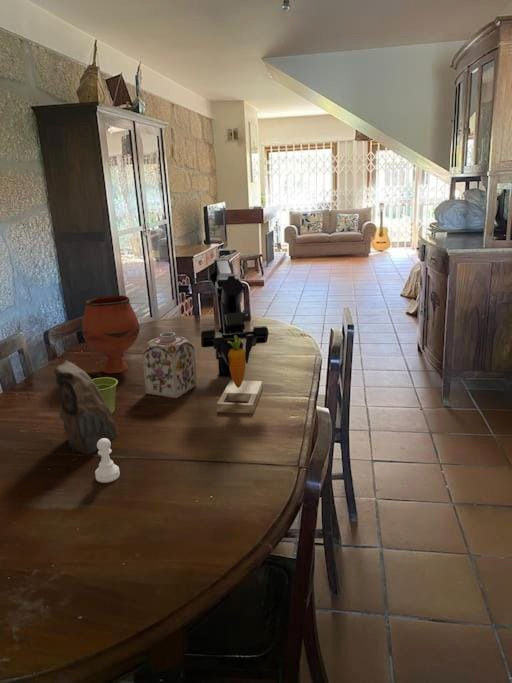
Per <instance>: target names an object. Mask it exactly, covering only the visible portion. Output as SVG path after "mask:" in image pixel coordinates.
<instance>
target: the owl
mask: <svg viewBox="0 0 512 683" xmlns="http://www.w3.org/2000/svg"><path fill="white" fill-rule="evenodd" d="M53 373H54V374H55V377H56V378H55V383H56V385H57V387H58V391H59V395H58V397H59V398H58V399H59V404H60V412H59V419H61V421H62V422H63V428H64V430H65V433H66V434H67V438H68V439H67V444H69V445H68V447H69V448H71V450H70V451H71V452H74V453H76V454H80V453H81V454H83V455H86V456H89V455H91V454H94V453H95V452H96V451H97V450H99V449H98V448H97V442H98V441H99V440H100V439H102V438H107V439H108V440H109V441H110V442H111V441H113V440H114V439H115V438H116V437H117V436H119V432H118V426H117V425H116V422H115V420H114V417H113V415H112V414H113V413H112V414H111V411H110V409H109V407H108V406H107V405H106V403H105V401H104V399H103V397H102V395H101V393H100V391H99V389H98V387H97V386H96V384H95V383H94V381H93V380H92V377H91V376H90V375H88V373H86V371H85V370H83V369H81V368H80V367H79V366H77V365H75V364H74V363H72V362H70V361H69V360H67V359H65V360H64V361H63V363H62V364H61V363H60V364H59V365H57V366H56V367H55V369H54V371H53Z"/></svg>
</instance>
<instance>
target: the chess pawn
mask: <svg viewBox="0 0 512 683" xmlns="http://www.w3.org/2000/svg"><path fill="white" fill-rule="evenodd" d="M111 443H112V442H111V441H109V440H108V439H107V438H102V439H100V440H99V441H98V442H97V448H98V449H97V450H98V451H97V455H98V456H100V457H101V459H100V462H99V464H98V468H96V469H95V471H94V474H95V481H97V482H98V483H102V484H103V483H111V482H115V481H116V480H118V478H119V477H120V475H121V473H120V467H119V466H118V465H116V464H115V463H114V460H112V459H111V458H110V454H111V453H112V449H111V446H112V445H111Z"/></svg>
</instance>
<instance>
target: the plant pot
mask: <svg viewBox="0 0 512 683" xmlns="http://www.w3.org/2000/svg"><path fill="white" fill-rule="evenodd" d="M91 379H92V378H91ZM92 380H93V381H94V383H95V384H96V386H97V387H98V389H99V391H100V393H101V395H102V397H103V399H104V401H105V403H106V405H107V406H108V407H109V409H110V411H111V414H113V413H114V412H115V407H116V404H115V402H116V389H117V385H118V383H119V380H118V379H116V378H114V377H108V376H105V377H97V378H93V379H92Z"/></svg>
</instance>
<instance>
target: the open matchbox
mask: <svg viewBox="0 0 512 683" xmlns="http://www.w3.org/2000/svg"><path fill="white" fill-rule="evenodd" d="M262 392H263V381H262V380H243V381H242V384H241V386H240V387H239V388H238V387H236V385H235V384H234V382H233V380H232V379H231V380H229V382H228V383H227V385H226V387H225V389H223V392H222V394H221V396H220V398H219V399H218V401H217V403H216V410H217V413H234V414H235V413H236V414H237V413H238V414H254V413H255V410H256V406H257V404H258V402H259V399H260V396H261V394H262ZM245 402H247V403H245Z"/></svg>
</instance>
